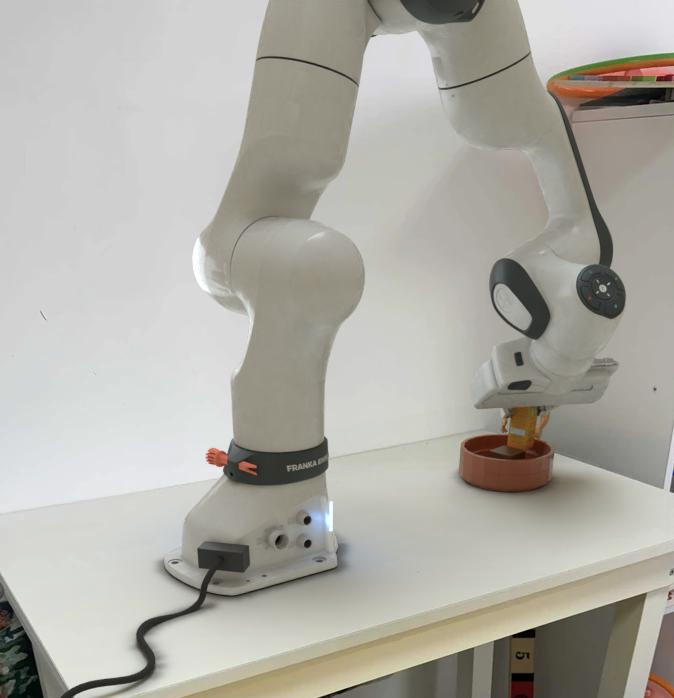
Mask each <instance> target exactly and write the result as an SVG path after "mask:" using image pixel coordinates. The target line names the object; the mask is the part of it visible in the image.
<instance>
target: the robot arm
mask: <svg viewBox="0 0 674 698" xmlns="http://www.w3.org/2000/svg"><path fill="white" fill-rule="evenodd" d="M263 17H264V18H263V21H262V26H261V30H260V33H259V39H258V43H257V49H256V56H255V62H254V68H253V74H252V81H251V88H250V92H249V98H248V99H249V100H248V105H247V110H246V117H245V121H244V122H245V123H244V128H243V133H242V138H241V142H240V147H239V151H238V154H237V157H236V159H235V162H234V166H233V169H232V170H231V171H232V172H231V174H230V177H229V179H228V182H227V185H226V187H225V189H224V192H223V195H222V197H221V200H220V202H219V205H218V207H217V210H216V212H215V214H214V216H213V217H212V219H211V220H210V222H209V223H208V224H207V226H205V228H204V229H203V230H202V231H201V232H200V234H199V236H198V237H197V238H196V241H195V244H194V246H193V252H192V269H193V273H194V276H195V279H196V282H197V284H198V285H199V287H200V288H201V290H202V291H203V292H204V293H205V294H206V295H208V297H210V298H211V299H212V300H213V301H214V302H216V303H217V304H218V305H220V306H221V307H222V308H224V309H226V310H227V311H230V312H232V313H235V314H239V315H242V316H246V317H247V316H248V333H247V339H246V344H245V348H244V352H243V356H242V358H241V361H240V362H239V363H238V364H237V365H236V366H235V368H234V369H233V371H232V373H231V376H230V400H231V417H232V435H233V437H232V439H231V440H230V443H229V445H228V449H227V452H226V451H224V450H220V449H218V448H217V447H210V448H209V449H207V452H206V453H205V459H206V460H205V461H206V462H207V463H208V464H209V465H211V466H215V467H217V468H222V475H221V476H220V477H219V478H218V480H217V481H216V482H215V483H214V484H213V485H212V486H211V487H210V489H209V490H208V491H207V492H206V493H205V494H204V495H203V496H202V497H201V498H200V499H199V501H198V502H197V503H196V504H195V505H194V506H193V507H192V508H191V509H190V510H189V511H188V512H187V514H186V515H185V517H184V519H183V523H182V532H181V546H180V547H178V548H176V549H174V550H172V551H170V552H168V553H165V555H164V560H163V565H164V568H165V570H167V572H168V573H169V574H170V575H171V576H173V577H174V578H176V579H177V580H179V581H180V582H183V583H185V584H187V585H188V586H191V587H193V588H196V589H199V595H198V598H197V600H196V601H195V602H193V604H192V605H190V606H189V607H188V608H186V609H184V610H181V611H178V612H175V613H169V614H165V615H159V616H153V617H151V618H148V619H146V620H144V621H143V622H142V623H141V624H140V625H139V627H138V628H137V630H136V633H135V636H136V637H135V638H136V641H137V643H138V646H139V647H140V648H141V650H142V651H143V652H144V654H145V656H146V658H147V664H146V665H145V667H144V668H143V669H141V670H140V671H138V672H136V673H133V674H129V675H124V676H117V677H107V678H99V679H95V680H89V681H86V682H82V683H79V684H77V685H75V686H73V687H71V688H69V689H68V690H67V691H65V692H64V693H63V694H62V695H61V696H60V697H59V698H74V697H75V696H76V695H79V694H81V693H83V692H85V691H89V690H92V689H97V688H104V687H111V686H120V685H127V684H131V683H135V682H138V681H141V680H143V679H145V678H146V677H147V676H149V675H150V674H151V673H152V671H153V670H154V668H155V665H156V655H155V652H154V651H153V650H152V648H151V647H150V645H149V644H148V642H147V641H146V639H145V637H144V633H145V632H146V630H147V629H148V628H150V627H152V626H154V625H157V624H161V623H165V622H168V621H171V620H174V619H177V618H180V617H183V616H186V615H189V614H192V613H195V612H196V611H198V609H200V608H201V607H202V606H203V604H204V603H205V601H206V597H207V592H208V593H211V594H216V595H224V596H237V595H241V594H244V593H249V592H252V591H257V590H260V589H263V588H267V587H271V586H275V585H277V584H281V583H285V582H289V581H292V580H295V579H296V580H297V579H300V578H302V577H306V576H310V575H313V574H314V575H315V574H318V573H320V572H324V571H327V570H332V569H334V568H336V567H337V566H338V565H339V564H338V563H339V562H338V557H337V551H338V550H339V542H338V540H337V536H336V533H335V529H334V525H333V501H329V493H328V486H327V485H328V484H327V474H326V473H327V470H328V469H329V458H330V452H329V440H328V438H327V436H325V409H326V407H325V404H326V403H325V401H326V379H327V378H326V377H327V371H328V364H329V361H330V356H331V353H332V349H333V346H334V343H335V339H336V337H337V334H338V332H339V330H340V329H341V327H342V325H343V324H344V323H345V321H347V319H349V318H350V316H352V314H353V313H354V312H355V311H356V309H357V307H358V306H359V304H360V303H361V299H362V297H363V294H364V290H365V283H366V268H365V263H364V260H363V257H362V254H361V252H360V250H359V248H358V245H357V244H356V243H354V241H353V240H352V239H351V238H350V237H348V236H347V235H346V234H344V233H342V232H340V231H339V230H337V229H335V228H333V227H331V226H329V225H327V224H325V223H322V222H320V221H318V220H313V219H311V218H312V215H313V213H314V210H315V208H316V206H317V204H318V202H319V201H320V199H321V196H322V195H323V194H324V192H325V191H326V190H327V188H328V186H329V185H330V184H331V183H332V182H334V181H335V180H336V179H337V178H338V176H339V175H340V174H341V171H342V170H343V168H344V165H345V162H346V157H347V152H348V149H349V142H350V138H351V132H352V126H353V120H354V115H355V111H356V105H357V99H358V94H359V89H360V84H361V77H362V71H363V64H364V55H365V52H366V50H367V47H368V45H369V42H370V40H371V39H372V38H374V37H377V36H386V35H387V36H388V35H405V34H408V33H413V32H415V31H416V32H417V33H418V35H420V37H421V39H422V40H423V41H424V43H425V45H426V46H427V48H428V50H429V53H430V59H431V64H432V68H433V73H434V77H435V81H436V86H437V89H438V90H437V91H438V93H439V97H440V102H441V105H442V109H443V110H442V111H443V112H444V116H445V118H446V120H447V123H448V126H449V127H450V129H451V131H452V133H453V134H454V136H455V137H456V138H458V139H459V140H460V141H461V142H463V143H464V144H466V145H468V146H470V147H472V148H474V149H476V150H477V149H478V150H481V151H487V152H488V151H491V152H493V151H494V152H497V151H513V150H514V151H518V152H520V153H523V154H524V155H525V156H526V157H527V158H528V159H529V161H530V163H531V164H532V168H533V171H534V173H535V176H536V178H537V181H538V184H539V187H540V190H541V194H542V195H543V198H544V202H545V204H546V207H547V209H548V218H547V222H546V224H545V226H544V228H543V229H542V230H540V231H539V232H538V233H536V234H535V235H533V236H531V237H530V238H529V239H527V240H526V241H524V242H522V243H520V244H519V245H517V246H516V247H514V248H513V249H512V250H510V251H509V252H507V253H506V254H505V255H503V256H502V257H501V258H500V259H498V260H496V261H495V262H494V264H493V265H492V268H491V270H490V272H489V273H490V274H489V279H488V280H489V281H488V289H489V296H490V300H491V304H492V306H493V309H494V311H495V312H496V314H497V315H498V316H499V317H500V318H501V319H502V320H503V322H504V323H506V324H507V325H508V326H509V327H511V328H512V329H514V330H516V331H517V332H519V333H520V334H522V335H523V337H519V338H516V339H513V340H509V341H504V342H501V343H497V344H495V345H494V346H493V347H492V349H491V351H490V353H491V358H489V359H487V360H486V361H484V362H483V364H481V366H480V367H479V368H478V369H477V372H475V375H474V376H473V378H472V380H471V382H470V384H469V397H470V402H471V405H472V407H474V408H475V409H476V410H488V409H489V410H490V409H492V410H493V409H499V412H500V417H501V419H504V418H508V419H510V418H512V415H513V414H514V409H513V407H530V406H539V409H538V416H537V417H541V416H547V414H548V413H549V411H550V412H551V411H554V410H555V409H558V408H559V407H561V406H566V405H584V404H593V403H595V402H598V401H599V400H601V399H602V397H603V396H604V394H605V393H606V390H607V389H608V387H609V385H610V382H611V377H612V376H613V375H615V373H616V372H617V371H618V369H619V368H620V367H619V364H620V363H619V362H618V361H616V360H614V358H612V357H603V358H602V357H596V356H597V355H599V354H600V353H601V352H602V351H603V350H604V349H605V347H606V346H607V344H608V343H609V341H610V340H611V339H612V338H613V335H614V333H616V330H617V329H618V327H619V325H620V323H621V321H622V318H623V316H624V313H625V311H626V305H627V291H626V286H625V284H624V282H623V280H622V278H621V276H619V274H618V273H617V272H616V271H615V270H613V269H612V268H611V267H612V264H613V258H614V241H613V236H612V234H611V231H610V229H609V226H608V224H607V223H606V221H605V219H604V217H603V215H602V214H601V212H600V210H599V208H598V205H597V203H596V200H595V197H594V194H593V192H592V188H591V185H590V181H589V179H588V178H589V177H588V175H587V172H586V169H585V166H584V162H583V158H582V156H581V154H580V150H579V147H578V143H577V140H576V137H575V134H574V131H573V129H572V125H571V123H570V120H569V118H568V117H569V116H568V115H567V112H566V109H565V108H564V106H563V104H562V102H561V100H560V99H559V98H558V96H556V95H557V94H555V93H554V92H552V91H550V90H549V89H546V87H545V86H544V84H543V82H542V81H541V78H540V76H539V73H538V72H537V68H536V66H535V62H534V57H533V54H532V50H531V44H530V39H529V35H528V31H527V27H526V23H525V20H524V16H523V13H522V10H521V6H520V3H519V0H268V1H267V6H266V9H265V14H264V16H263Z"/></svg>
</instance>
